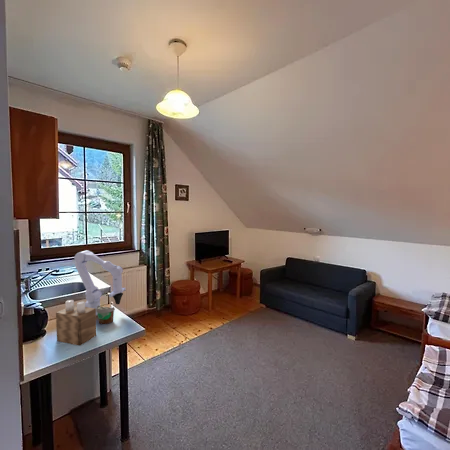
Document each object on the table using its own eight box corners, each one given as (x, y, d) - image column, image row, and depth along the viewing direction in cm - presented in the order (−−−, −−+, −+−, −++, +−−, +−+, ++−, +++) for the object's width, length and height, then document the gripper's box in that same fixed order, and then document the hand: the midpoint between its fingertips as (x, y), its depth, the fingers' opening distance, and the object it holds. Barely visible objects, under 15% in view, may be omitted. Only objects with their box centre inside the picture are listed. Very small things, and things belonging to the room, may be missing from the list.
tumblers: (64, 310, 149) (63, 302, 149) (70, 308, 153) (69, 299, 152) (81, 313, 145) (80, 304, 145) (86, 310, 149) (86, 302, 149)
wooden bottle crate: (56, 340, 148) (55, 312, 146) (74, 331, 159) (73, 304, 157) (80, 345, 143) (79, 316, 142) (96, 335, 154) (95, 308, 153)
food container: (91, 323, 169) (91, 308, 168) (98, 319, 175) (98, 304, 174) (108, 326, 166) (108, 310, 165) (115, 322, 172) (114, 307, 171)
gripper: (114, 288, 173) (115, 308, 175) (129, 282, 187) (129, 301, 188) (105, 287, 176) (106, 307, 177) (120, 281, 189) (121, 299, 190)
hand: (117, 303), depth 183 cm, fingers closed
